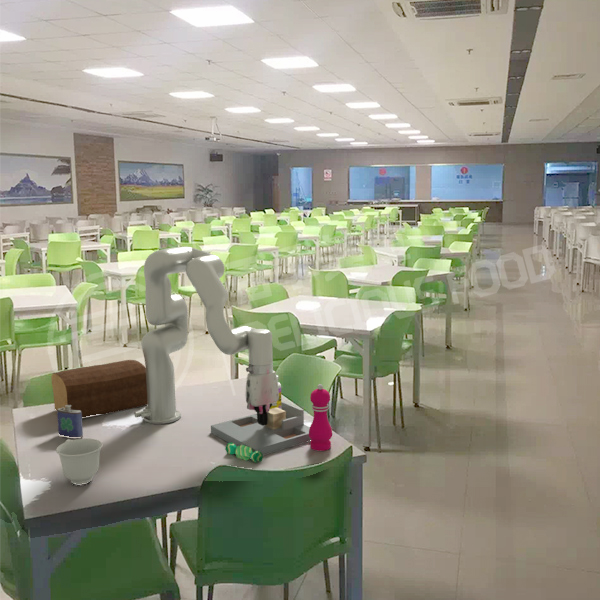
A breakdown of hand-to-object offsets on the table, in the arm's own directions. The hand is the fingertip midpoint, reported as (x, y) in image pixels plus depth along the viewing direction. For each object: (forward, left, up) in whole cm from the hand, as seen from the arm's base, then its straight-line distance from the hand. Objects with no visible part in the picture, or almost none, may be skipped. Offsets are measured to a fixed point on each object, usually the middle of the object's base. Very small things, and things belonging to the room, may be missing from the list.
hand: (262, 424), depth 214 cm
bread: (-30, +61, -5) cm, 68 cm away
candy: (-14, -10, -5) cm, 18 cm away
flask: (-48, +39, -4) cm, 62 cm away
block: (+5, 0, -2) cm, 5 cm away
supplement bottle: (+17, +18, -4) cm, 25 cm away
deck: (+1, 0, -4) cm, 4 cm away
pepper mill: (+9, -19, -4) cm, 21 cm away
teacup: (-57, +5, -4) cm, 58 cm away
